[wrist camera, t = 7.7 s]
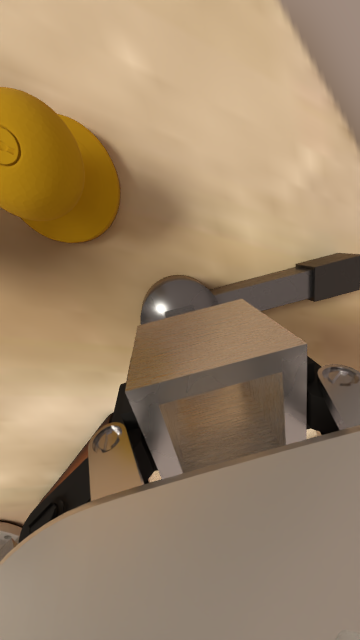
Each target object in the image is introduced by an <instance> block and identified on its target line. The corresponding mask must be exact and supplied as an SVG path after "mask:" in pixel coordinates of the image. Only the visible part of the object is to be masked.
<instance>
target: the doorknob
mask: <svg viewBox="0 0 360 640" xmlns="http://www.w3.org/2000/svg"><path fill="white" fill-rule="evenodd" d="M119 202H120V186H119V180H118V176H117V172H116V169H115V167H114V165H113V162H112V160H111V158H110V156H109V154H108V153H107V151H106V149H105V148H104V146H103V145H102V144H101V142H100V141H99V140H98V139H97V138H96V137H95V136H94V135H93V134H92V133H91V132H90V131H89V130H88V129H87V128H85V127H84V126H83V125H81V124H80V123H78V122H77V121H75V120H73V119H71V118H69V117H66V116H63V115H60V114H56V113H55V112H54V111H53V110H52V109H51V108H50V107H49V106H47V105H46V104H45V103H44V102H42V101H41V100H39V99H37V98H36V97H34V96H32V95H30V94H28V93H26V92H23V91H20V90H17V89H13V88H6V87H0V207H1V208H3V209H4V210H6V211H8V212H10V213H12V214H14V215H16V216H18V217H21V219H22V220H23V221H24V222H25V223H27V224H28V225H29V226H30V227H31V228H32V229H34V230H35V231H37V232H38V233H40V234H42V235H44V236H46V237H48V238H50V239H53V240H56V241H60V242H67V243H79V242H86V241H89V240H92V239H94V238H96V237H98V236H100V235H101V234H103V233H104V232H105V231H106V230H107V229H108V228H109V227H110V225H111V224H112V222H113V221H114V219H115V217H116V214H117V211H118V208H119Z"/></svg>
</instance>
